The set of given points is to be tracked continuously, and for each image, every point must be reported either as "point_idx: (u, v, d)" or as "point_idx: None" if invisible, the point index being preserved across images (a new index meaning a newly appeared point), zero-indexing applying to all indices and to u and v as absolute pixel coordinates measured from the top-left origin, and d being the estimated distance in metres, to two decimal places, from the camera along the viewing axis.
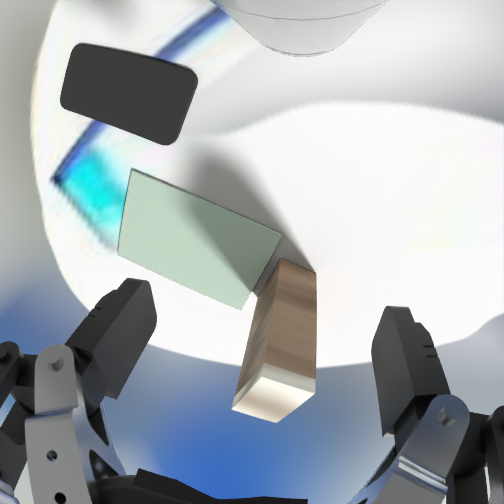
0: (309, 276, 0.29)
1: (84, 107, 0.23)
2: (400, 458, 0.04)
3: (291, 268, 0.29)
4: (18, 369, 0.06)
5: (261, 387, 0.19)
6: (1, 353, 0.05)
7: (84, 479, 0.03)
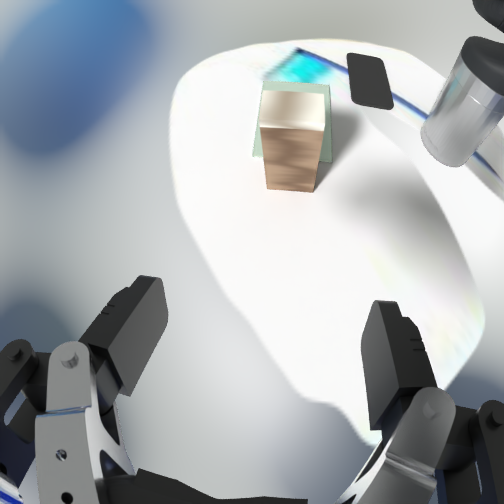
0: None
1: (352, 63, 0.44)
2: (386, 453, 0.04)
3: None
4: (30, 367, 0.06)
5: (311, 96, 0.25)
6: (13, 351, 0.06)
7: (93, 480, 0.03)
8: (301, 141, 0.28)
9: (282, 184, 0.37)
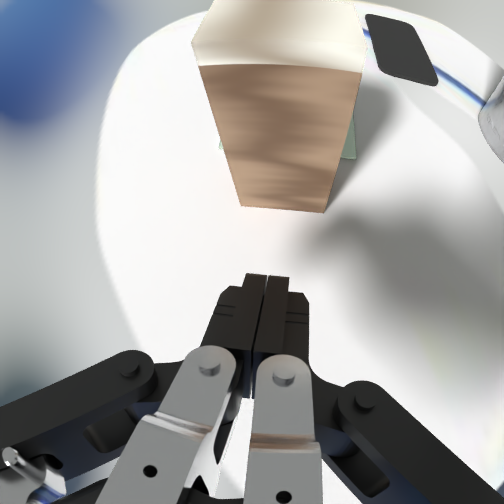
0: None
1: (374, 25, 0.27)
2: (252, 437, 0.05)
3: None
4: (153, 382, 0.06)
5: (325, 4, 0.09)
6: (127, 366, 0.06)
7: None
8: (304, 101, 0.11)
9: (266, 198, 0.20)
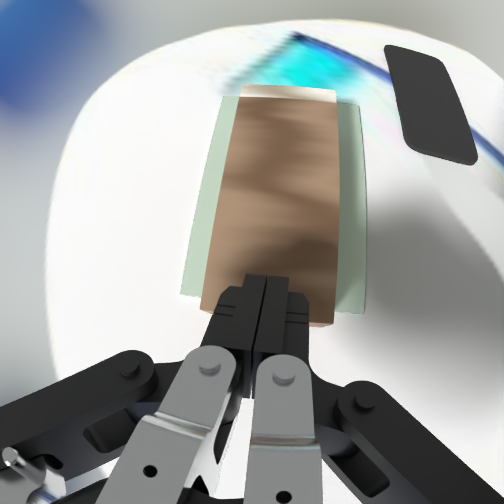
0: None
1: (397, 64, 0.22)
2: (252, 436, 0.05)
3: None
4: (153, 382, 0.06)
5: None
6: (127, 366, 0.06)
7: None
8: (302, 121, 0.16)
9: None
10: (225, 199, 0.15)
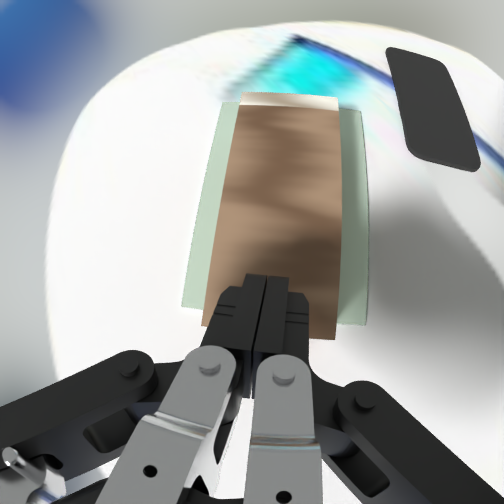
0: None
1: (399, 67, 0.22)
2: (252, 436, 0.05)
3: None
4: (153, 382, 0.06)
5: None
6: (127, 366, 0.06)
7: None
8: (304, 130, 0.15)
9: None
10: (226, 213, 0.14)
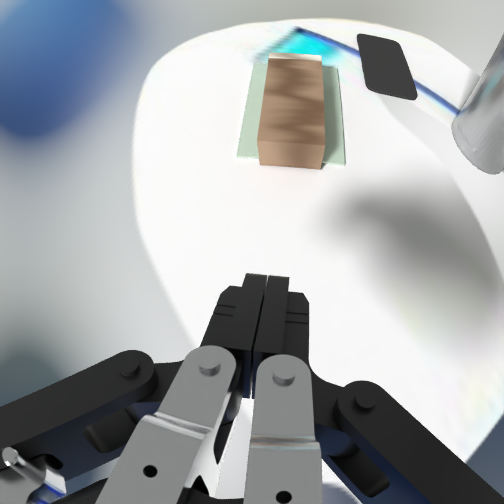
0: None
1: (364, 45, 0.34)
2: (252, 437, 0.05)
3: None
4: (153, 382, 0.06)
5: None
6: (127, 366, 0.06)
7: None
8: (303, 69, 0.27)
9: (280, 129, 0.25)
10: (266, 99, 0.26)
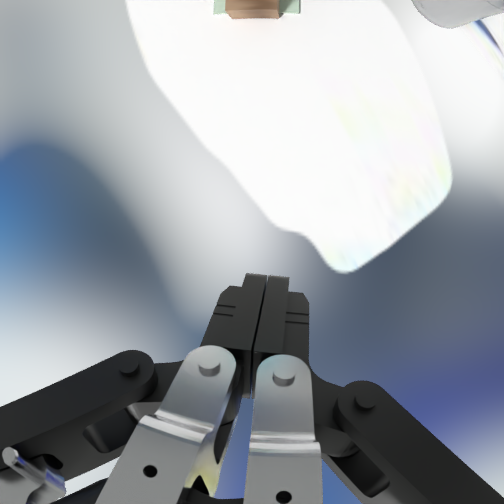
0: (277, 4, 0.25)
1: None
2: (252, 436, 0.05)
3: (278, 9, 0.27)
4: (153, 382, 0.06)
5: None
6: (127, 366, 0.06)
7: None
8: None
9: None
10: None
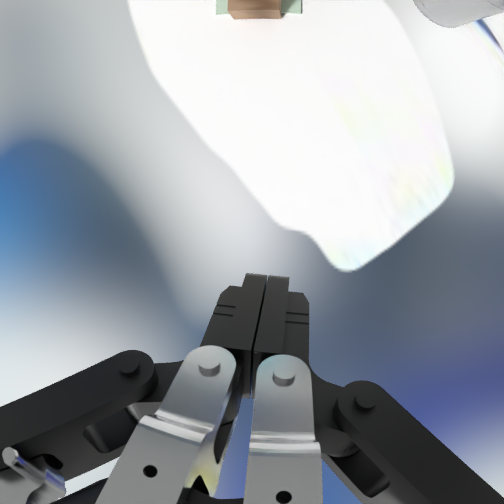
0: (279, 5, 0.25)
1: None
2: (251, 437, 0.05)
3: (280, 9, 0.27)
4: (153, 382, 0.06)
5: None
6: (127, 366, 0.06)
7: None
8: None
9: (244, 0, 0.25)
10: None
